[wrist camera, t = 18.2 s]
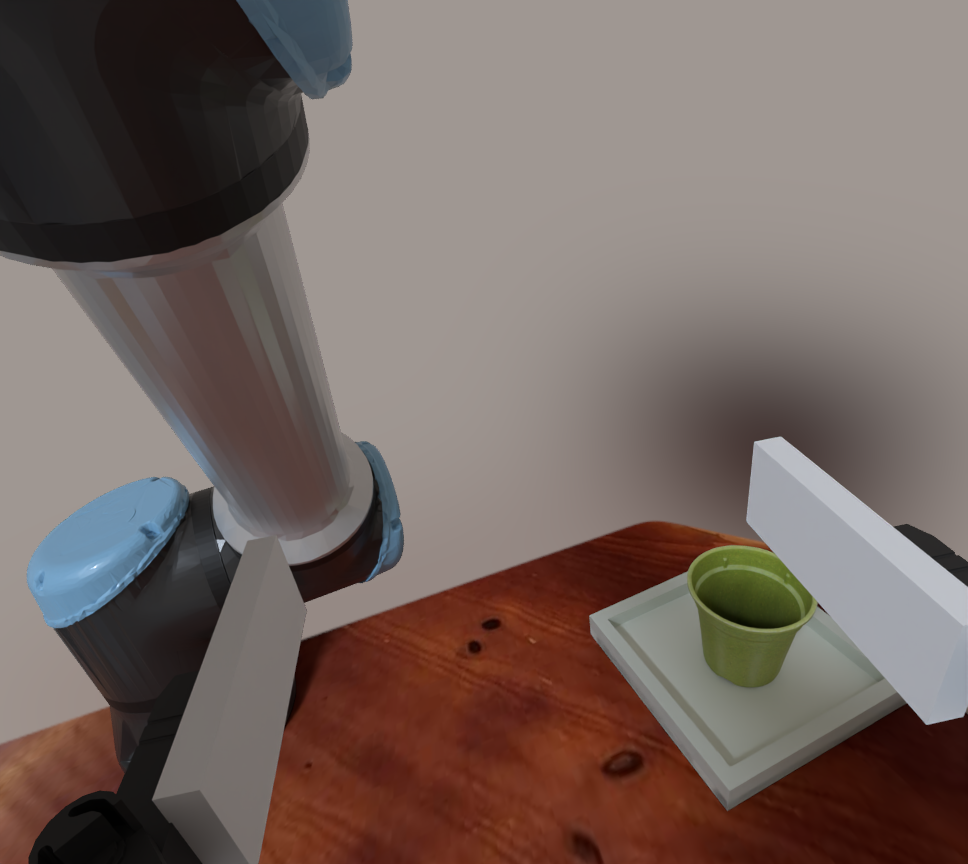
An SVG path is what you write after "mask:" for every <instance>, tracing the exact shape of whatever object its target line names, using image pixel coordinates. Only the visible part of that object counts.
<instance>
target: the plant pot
mask: <svg viewBox="0 0 968 864" xmlns="http://www.w3.org/2000/svg"><path fill="white" fill-rule="evenodd" d="M687 585H688V589H689V592H690V594H691V596H692V598H693V599H694V601H695V604H696V606H697V608H698V614H699V621H700V629H701V637H702V646H703V654H704V658H705V660H706V663H707V664H708V666H709V667H710V668H711V670H712V671H713V672H714V673H715V674H716V675H718V676H721V677H723V678H725V679H727V680H729V681H731V682H732V683H734V684H735V685H738V686H742V687H760V686H764V685H767V684H769V683H770V682H772V681H773V680H774V679H775V678H776V676H777V675H778V673H779V672H780V669H781V667H782V665H783V662H784V660H785V657H786V655H787V653H788V650H789V648H790V646H791V644H792V642H793V639H794V637H795V635H796V633H797V632H798V631H799V630H800V629H801V628H802V626H803V625H805V624H806V623H807V622H808V621H809V620H810V619H811V618H812V617H813V615H814V613H815V611H816V608H817V603H818V602H817V601H816V599H815V598H814V597H813V596H812V595H811V594H810V593H809V592H808V590H807V589H806V588H805V587H804V586H803V585H802V584H801V583H800V581H799V580H798V579H797V578H796V577H795V576H794V575H793V574H792V572H791V571H790V570H789V569H788V568H787V567H786V566H785V564H784V563H783V562H782V561H781V560H780V559H779V558H778V557H777V555H776V554H775V553H772V552H770V551H768V550H764V549H760V548H756V547H749V546H735V545H732V546H723V547H717V548H714V549H711V550H709V551H707V552H705V553H703V554H701V555H700V556H699V557H697V558H696V559H695V560H694V561H693V563H692V564H691V566H690V567H689V570H688V573H687Z"/></svg>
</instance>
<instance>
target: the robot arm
mask: <svg viewBox="0 0 968 864" xmlns="http://www.w3.org/2000/svg"><path fill="white" fill-rule="evenodd" d="M351 50H352V31H351V21H350V14H349V7H348V0H0V256H3V257H5V258H8V259H11V260H16V261H19V262H23V263H27V264H30V265H36V266H42V267H47V268H52V269H53V270H54V271H55V273H56V274H57V276H58V277H59V278H60V280H61V281H62V282H63V284H64V285H65V286H66V288H67V289H68V291H69V292H70V293H71V295H72V296H73V297H74V298H75V300H76V301H77V303H78V304H79V305H80V307H81V308H82V309H83V311H84V312H85V313H86V315H87V316H88V317H89V319H90V320H91V321H92V323H93V324H94V325H95V327H96V328H97V329H98V331H99V332H100V333H101V335H102V336H103V337H104V339H105V340H106V341H107V343H108V344H109V345H110V347H111V348H112V349H113V351H114V352H115V354H116V355H117V356H118V358H119V359H120V360H121V362H122V363H123V364H124V366H125V367H126V368H127V369H128V371H129V372H130V374H131V375H132V376H133V377H134V379H135V380H136V381H137V383H138V384H139V386H140V387H141V388H142V390H143V391H144V392H145V394H146V395H147V396H148V398H149V399H150V400H151V402H152V403H153V404H154V406H155V407H156V408H157V410H158V411H159V412H160V414H161V415H162V416H163V418H164V419H165V420H166V422H167V423H168V424H169V426H170V427H171V429H172V430H173V431H174V433H175V434H176V435H177V436H178V438H179V439H180V441H181V442H182V443H183V445H184V446H185V447H186V449H187V450H188V451H189V453H190V454H191V455H192V457H193V458H194V459H195V461H196V462H197V463H198V465H199V466H200V467H201V469H202V470H203V471H204V473H205V474H206V475H207V477H208V478H209V479H210V481H211V482H212V484H213V485H214V487H211V488H208V489H204V490H201V491H198V492H195V493H191V494H189V492H188V490H187V489H186V487H185V486H184V485H182V484H181V483H180V482H178V481H177V480H175V479H173V478H170V477H162V478H161V479H160V478H157V477H151V478H146V479H142V480H138V481H135V482H132V483H129V484H126V485H124V486H121V487H119V488H117V489H114V490H112V491H110V492H108V493H106V494H104V495H102V496H100V497H98V498H97V499H95V500H93V501H91V502H89V503H88V504H86V505H85V506H83V507H82V508H80V509H79V510H77V511H76V512H74V513H73V514H72V515H70V516H69V517H68V518H67V519H65V520H64V521H63V522H61V523H60V524H59V525H58V526H57V527H56V528H54V529H53V530H52V531H51V532H50V533H49V534H48V536H46V538H45V539H44V540H43V541H42V542H41V544H40V545H39V546H38V548H37V549H36V551H35V552H34V554H33V556H32V558H31V560H30V562H29V565H28V569H27V583H28V587H29V589H30V591H31V593H32V594H33V596H34V598H35V600H36V601H37V603H38V605H39V607H40V609H41V611H42V612H43V614H44V619H45V622H46V623H47V625H48V626H50V627H53V628H54V630H55V631H56V632H57V634H58V635H59V637H60V638H61V639H62V641H63V642H64V643H65V645H66V646H67V647H68V649H69V650H70V652H71V653H72V654H73V656H74V657H75V659H76V660H77V661H78V663H79V664H80V665H81V667H82V668H83V669H84V671H85V672H86V674H87V675H88V676H89V678H90V679H91V680H92V681H93V683H94V684H95V686H96V687H97V689H98V690H99V691H100V692H101V694H102V695H103V696H104V698H105V699H106V701H107V702H108V703H109V705H110V712H111V720H112V727H113V735H114V743H115V751H116V756H117V759H118V762H119V764H120V766H121V768H122V770H123V771H124V773H125V775H124V777H123V779H122V782H121V784H120V787H119V789H118V791H117V794H115V793H114V792H109V791H97V792H94V793H91V794H88V795H84V796H82V797H81V798H79V799H77V800H76V801H74V802H72V803H71V804H69V805H67V806H66V807H65V808H64V809H62V810H61V811H60V812H59V813H58V814H57V815H56V816H55V817H54V818H53V819H52V820H50V821H49V823H48V824H47V825H46V827H45V828H44V829H43V831H42V832H41V833H40V835H39V836H38V838H37V839H36V841H35V843H34V846H33V848H32V850H31V853H30V855H29V864H258V862H259V857H260V852H261V847H262V841H263V836H264V831H265V826H266V821H267V815H268V810H269V805H270V800H271V794H272V789H273V784H274V779H275V773H276V768H277V763H278V758H279V753H280V747H281V742H282V737H283V732H284V726H285V723H286V722H287V720H288V717H289V715H290V713H291V710H292V707H293V704H294V700H295V695H296V679H295V675H294V674H295V669H296V664H297V658H298V653H299V648H300V643H301V637H302V632H303V627H304V622H305V616H306V611H307V609H306V607H305V605H304V603H305V602H308V601H310V600H313V599H316V598H318V597H321V596H324V595H326V594H329V593H332V592H334V591H337V590H340V589H342V588H345V587H348V586H351V585H353V584H356V583H363V582H367V581H370V580H372V579H373V578H374V577H375V576H376V575H378V574H381V573H383V572H385V571H387V570H389V569H391V568H393V567H394V566H395V565H396V564H397V563H398V562H399V560H400V558H401V556H402V552H403V545H404V535H403V527H402V523H401V521H400V519H399V517H400V509H399V504H398V500H397V496H396V492H395V489H394V485H393V482H392V479H391V476H390V474H389V471H388V469H387V466H386V464H385V462H384V460H383V458H382V456H381V454H380V452H379V451H378V449H377V448H376V447H375V446H374V445H371V444H370V443H369V442H366V441H365V442H364V441H361V442H354V441H353V440H352V439H351V438H349V437H348V436H346V435H345V434H343V433H341V431H340V427H339V423H338V419H337V416H336V411H335V408H334V403H333V400H332V396H331V392H330V388H329V384H328V380H327V376H326V372H325V368H324V364H323V360H322V357H321V353H320V349H319V345H318V341H317V337H316V333H315V329H314V325H313V321H312V317H311V313H310V310H309V306H308V302H307V298H306V294H305V290H304V286H303V282H302V278H301V274H300V270H299V267H298V263H297V259H296V255H295V251H294V247H293V243H292V240H291V235H290V231H289V227H288V224H287V220H286V216H285V212H284V208H283V204H282V202H283V201H284V200H285V199H286V198H287V197H288V196H289V195H290V194H291V193H292V191H293V190H294V188H295V186H296V185H297V184H298V182H299V180H300V179H301V177H302V175H303V172H304V170H305V167H306V165H307V161H308V156H309V133H308V128H307V123H306V118H305V112H304V107H303V102H302V96H301V93H302V92H304V94H305V95H307V96H308V97H309V98H311V99H319V98H324V96H325V95H326V94H327V91H328V90H330V89H332V88H336V87H339V86H340V85H342V84H344V83H345V81H346V80H347V79H348V77H349V75H350V73H351V65H352V64H351V54H350V52H351ZM746 521H747V523H748V524H749V525H750V526H751V527H752V528H753V529H754V531H755V532H756V533H757V534H758V535H759V536H760V537H761V539H762V540H763V541H764V542H765V543H766V544H767V545H768V546H769V548H770V549H771V550H772V551H773V552H774V553H775V554H776V555H777V557H778V558H779V559H780V560H781V561H782V562H783V563H784V564H785V566H786V567H787V568H788V569H789V570H790V571H791V572H792V574H793V575H794V576H795V577H796V578H797V579H798V580H799V581H800V583H801V584H802V585H803V586H804V587H805V588H806V589H807V590H808V592H809V593H810V594H811V595H812V596H813V597H814V598H815V599H816V601H817V602H818V603H819V604H820V605H821V606H822V607H823V609H824V610H825V611H826V612H827V613H828V614H829V615H830V616H831V618H832V619H833V620H834V621H835V622H836V623H837V624H838V625H839V627H840V628H841V629H842V630H843V631H844V632H845V633H846V634H847V636H848V637H849V638H850V639H851V640H852V641H853V642H854V644H855V645H856V646H857V647H858V648H859V649H860V650H861V651H862V653H863V654H864V655H865V656H866V657H867V658H868V659H869V660H870V662H871V663H872V664H873V665H874V666H875V667H876V668H877V670H878V671H879V672H880V673H881V674H882V675H883V676H884V677H885V679H886V680H887V681H888V682H889V683H890V684H891V685H892V686H893V688H894V689H895V690H896V691H897V692H898V693H899V694H900V695H901V697H902V698H903V699H904V700H905V701H906V702H907V703H908V705H909V706H910V707H911V708H912V709H913V710H914V711H915V712H916V714H917V715H918V716H919V717H920V718H921V719H922V720H923V721H924V723H925V724H926V725H929V724H933V723H938V722H942V721H946V720H951V719H955V718H960V717H963V716H964V714H965V712H966V709H967V707H968V562H967V561H966V560H964V559H963V558H962V557H960V556H959V555H958V556H956V555H955V552H954V551H953V550H951V549H950V548H948V547H947V546H946V545H945V544H943V543H942V542H941V541H939V540H938V539H937V538H936V537H934V536H932V535H930V534H928V533H926V532H923V531H921V530H919V529H917V528H915V527H913V526H910V525H908V524H905V525H900V526H895V527H893V526H891V525H890V524H889V523H887V522H886V521H885V520H884V519H883V518H881V517H880V516H879V515H878V514H876V513H875V512H874V511H873V510H871V509H870V508H869V507H868V506H866V505H865V504H864V503H863V502H861V501H860V500H859V499H858V498H857V497H855V496H854V495H853V494H852V493H850V492H849V491H848V490H847V489H845V488H844V487H843V486H841V485H840V484H839V483H838V482H836V481H835V480H834V479H833V478H832V477H830V476H829V475H828V474H827V473H825V472H824V471H823V470H822V469H820V468H819V467H818V466H817V465H816V464H814V463H813V462H812V461H811V460H809V459H808V458H807V457H806V456H804V455H803V454H802V453H801V452H799V451H798V450H797V449H796V448H794V447H793V446H792V445H791V444H789V443H788V442H787V441H786V440H785V439H783V438H782V437H777V438H771V439H766V440H761V441H756V442H754V450H753V459H752V470H751V480H750V490H749V499H748V509H747V519H746Z"/></svg>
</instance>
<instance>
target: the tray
mask: <svg viewBox="0 0 968 864" xmlns="http://www.w3.org/2000/svg"><path fill="white" fill-rule="evenodd" d="M687 573H688V572H686V573H683V574H681V575H679V576H677V577H674V578H672V579H670V580H668V581H665V582H663V583H661V584H659V585H657V586H654V587H652V588H650V589H648V590H645V591H643V592H641V593H639V594H636V595H634V596H632V597H630V598H627V599H625V600H623V601H621V602H619V603H616V604H614V605H612V606H610V607H607V608H605V609H603V610H601V611H598V612H596V613H594V614H592V615H590V616H589V617H590V630H591V635H592V636H593V638H594V639H595V640H596V641H597V643H598V644H599V645H600V647H601V648H602V649H603V650H604V652H605V653H606V654H607V656H608V657H609V658H610V660H611V661H612V662H613V663H614V665H615V666H616V667H617V669H618V670H619V671H620V673H621V674H622V675H623V676H624V678H625V679H626V680H627V682H628V683H629V684H630V685H631V687H632V688H633V689H634V691H635V692H636V693H637V695H638V696H639V697H640V698H641V700H642V701H643V702H644V704H645V705H646V706H647V708H648V709H649V710H650V711H651V713H652V714H653V715H654V717H655V718H656V719H657V721H658V722H659V723H660V724H661V726H662V727H663V728H664V730H665V731H666V732H667V733H668V735H669V736H670V737H671V739H672V740H673V741H674V743H675V744H676V745H677V746H678V748H679V749H680V750H681V752H682V753H683V754H684V756H685V757H686V758H687V759H688V761H689V762H690V763H691V765H692V766H693V767H694V769H695V770H696V771H697V772H698V774H699V775H700V776H701V778H702V779H703V780H704V781H705V783H706V784H707V785H708V787H709V788H710V789H711V791H712V792H713V793H714V794H715V796H716V797H717V798H718V800H719V801H720V802H721V804H722V805H723V806H724V807H725V809H726V810H727V811H728V810H730V809H731V808H733V807H735V806H736V805H738V804H740V803H741V802H743V801H745V800H746V799H748V798H750V797H751V796H753V795H755V794H756V793H758V792H760V791H761V790H763V789H765V788H766V787H768V786H770V785H771V784H773V783H775V782H776V781H778V780H780V779H781V778H783V777H785V776H786V775H788V774H790V773H791V772H793V771H795V770H796V769H798V768H800V767H801V766H803V765H805V764H806V763H808V762H810V761H811V760H813V759H815V758H816V757H818V756H820V755H821V754H823V753H825V752H826V751H828V750H830V749H831V748H833V747H835V746H836V745H838V744H840V743H841V742H843V741H844V740H846V739H848V738H849V737H851V736H853V735H854V734H856V733H858V732H859V731H861V730H863V729H864V728H866V727H868V726H869V725H871V724H873V723H874V722H876V721H878V720H879V719H881V718H883V717H884V716H886V715H888V714H889V713H891V712H893V711H894V710H896V709H898V708H899V707H901V706H903V705H904V704H906V703H907V702H906V701H905V700H904V699H903V698H902V697H901V695H900V694H899V693H898V692H897V691H896V690H895V689H894V688H893V686H892V685H891V684H890V683H889V682H888V681H887V680H886V679H885V677H884V676H883V675H882V674H881V673H880V672H879V671H878V670H877V668H876V667H875V666H874V665H873V664H872V663H871V662H870V660H869V659H868V658H867V657H866V656H865V655H864V654H863V653H862V651H861V650H860V649H859V648H858V647H857V646H856V645H855V644H854V642H853V641H852V640H851V639H850V638H849V637H848V636H847V634H846V633H845V632H844V631H843V630H842V629H841V628H840V627H839V625H838V624H837V623H836V622H835V621H834V620H833V619H832V618H831V617H830V616H829V615H828V614H826V613H825V612H824V611H823V610H821V609H820V608H819V607H817V608H816V611H815V613H814V615H813V617H812V618H811V619H810V620H809V621H808V622H807V623H806V624H805V625H803V626H802V628H801V629H800V630H799V631H798V632H797V633H796V635H795V637H794V639H793V642H792V644H791V646H790V648H789V650H788V653H787V655H786V657H785V660H784V662H783V665H782V667H781V669H780V672H779V673H778V675H777V676H776V678H775V679H774V680H773V681H772V682H770V683H769V684H767V685H764V686H760V687H742V686H738V685H735V684H734V683H732V682H731V681H729V680H727V679H725V678H723V677H721V676H718V675H716V674H715V673H714V672H713V671H712V670H711V668H710V667H709V666H708V664H707V663H706V660H705V658H704V654H703V646H702V637H701V629H700V621H699V614H698V608H697V606H696V604H695V601H694V599H693V598H692V596H691V594H690V592H689V589H688V585H687Z"/></svg>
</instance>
